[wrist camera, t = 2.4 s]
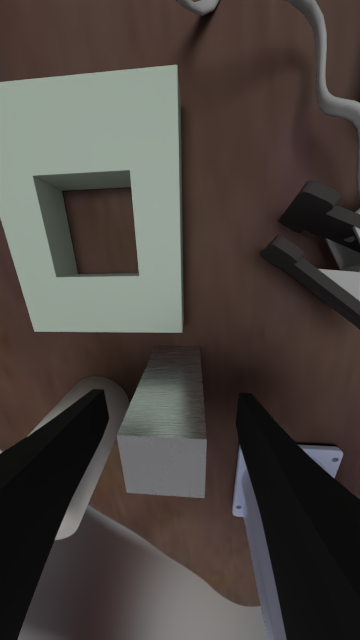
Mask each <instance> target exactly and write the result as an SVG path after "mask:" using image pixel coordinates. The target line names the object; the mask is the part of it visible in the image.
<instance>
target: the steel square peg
mask: <svg viewBox="0 0 360 640" xmlns="http://www.w3.org/2000/svg"><path fill="white" fill-rule="evenodd" d="M117 440H118V446H119V452H120V457H121V463H122V468H123V474H124V480H125V485H126V491H127V493H139V494H153V495H167V496H181V497H195V498H205V474H206V445H207V437H206V423H205V410H204V397H203V383H202V370H201V356H200V346H155V347H154V350H153V352H152V354H151V357H150V359H149V361H148V363H147V366H146V368H145V370H144V373H143V375H142V377H141V380H140V382H139V384H138V387H137V389H136V391H135V394H134V396H133V398H132V401H131V403H130V405H129V408H128V410H127V412H126V414H125V417H124V419H123V421H122V424H121V426H120V428H119V431H118V433H117Z"/></svg>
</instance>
